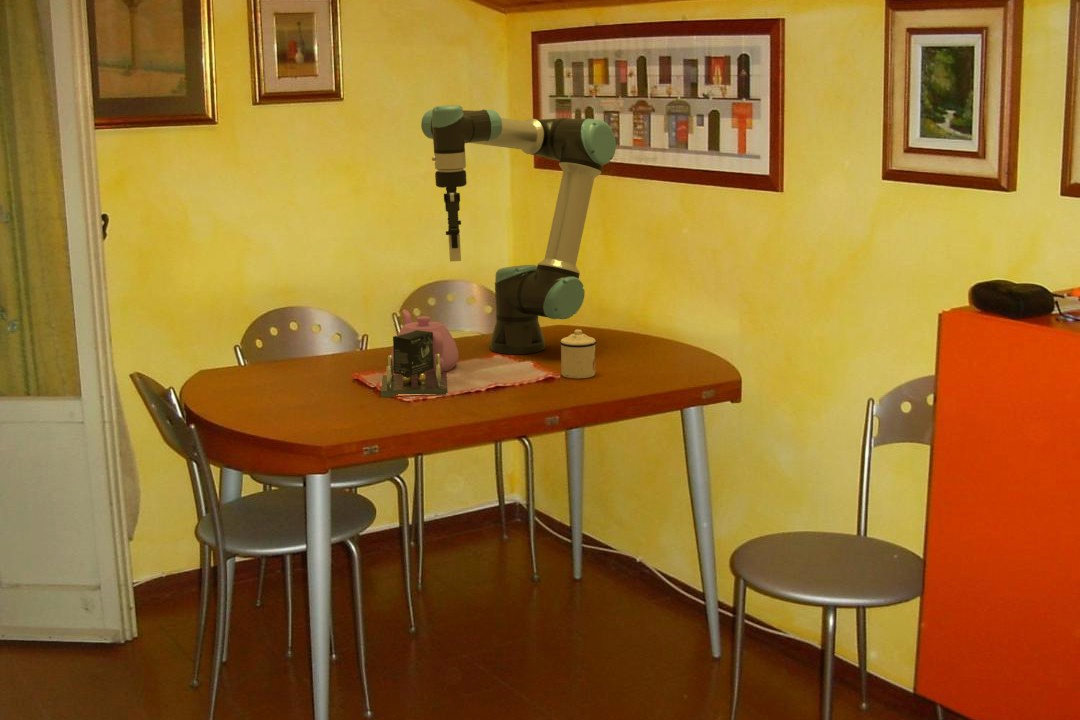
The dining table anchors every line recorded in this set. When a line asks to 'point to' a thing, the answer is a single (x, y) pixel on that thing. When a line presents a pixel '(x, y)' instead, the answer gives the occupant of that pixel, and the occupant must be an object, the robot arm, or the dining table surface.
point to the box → (413, 352)
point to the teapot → (441, 340)
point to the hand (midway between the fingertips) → (455, 256)
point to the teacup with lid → (578, 356)
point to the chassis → (413, 381)
